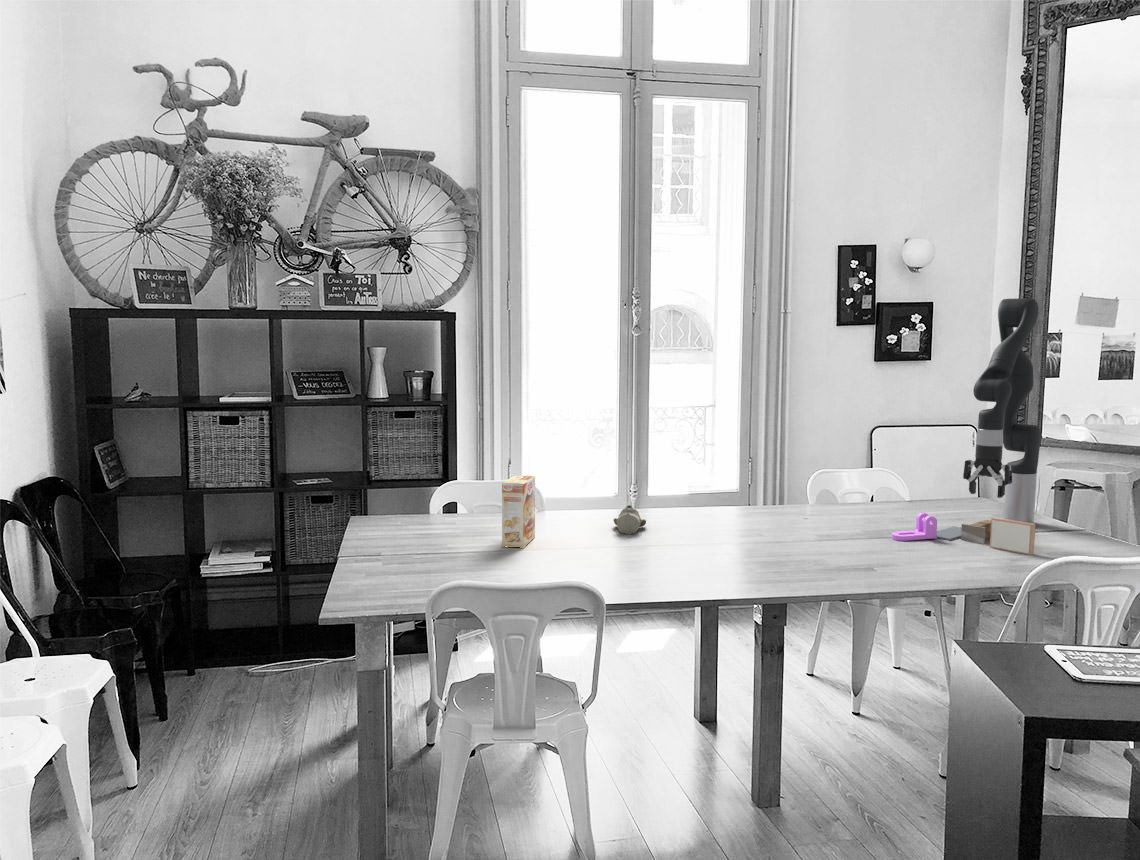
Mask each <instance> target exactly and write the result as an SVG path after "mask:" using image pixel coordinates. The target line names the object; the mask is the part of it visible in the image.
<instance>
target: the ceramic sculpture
mask: <svg viewBox="0 0 1140 860" xmlns="http://www.w3.org/2000/svg"><path fill="white" fill-rule="evenodd" d="M613 522H614V524H615V525H616V527H617V529H618V531H619V533H622V534H624V533H625V534H624V535H633V534H634V535H635V533H637V532H638V530H639V528H643V527H644V526H645V525H646V524H647V520H646V519H642V518H641V515H640V514H639V511H638V510H636V508H634V507H633V506H632V505H630V504H629V505H627V506H626V507H624V508H623V509H622V510H621V511H620V513H619V514H618V516H617V517H616V518H613Z"/></svg>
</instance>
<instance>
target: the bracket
mask: <svg viewBox="0 0 1140 860" xmlns="http://www.w3.org/2000/svg"><path fill="white" fill-rule="evenodd" d="M915 520H916V521H915V522H916V525H915V530H913V529H912V530H902V531H894V532H893V531H892V533H891V539H892V540H895V541H899V542H900V541H902V542H907V541H917V540H930V539H938V538H937V531H938V520H937V518H936V517H935V516H933V515H929V514H928V513H926V512H919V513H918V514H917V516H916V519H915ZM930 521H931V522H930Z"/></svg>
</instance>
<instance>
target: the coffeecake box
mask: <svg viewBox="0 0 1140 860" xmlns="http://www.w3.org/2000/svg"><path fill="white" fill-rule="evenodd" d="M501 487H502V488H501V547H502V546H507V547H506V548H508V547H520V548H519V549H525V548H526V547H527V546H528V545H529V544H530V543H531V542H532V541H533V540H534V539H535V538H536V476H534V475H515V474H514V475H513V476H511V477H510V478H508V479H506V480H504V481H503V482H502V483H501ZM534 537H535V538H534ZM533 538H534V539H533ZM532 539H533V540H532ZM531 540H532V541H531ZM530 541H531V542H530ZM529 542H530V543H529ZM528 543H529V544H528ZM527 544H528V545H527ZM526 545H527V546H526ZM525 546H526V547H525ZM524 547H525V548H524Z"/></svg>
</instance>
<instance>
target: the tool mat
mask: <svg viewBox="0 0 1140 860" xmlns="http://www.w3.org/2000/svg"><path fill="white" fill-rule="evenodd" d="M961 527H962V526H961ZM961 527H959V526H955V525H954V526H951V527H946V528H942V529H939V530H937V538H936V539H939V540H943V541H944V540H945V541H949V542H950V541H954V540H956V539H961Z"/></svg>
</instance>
